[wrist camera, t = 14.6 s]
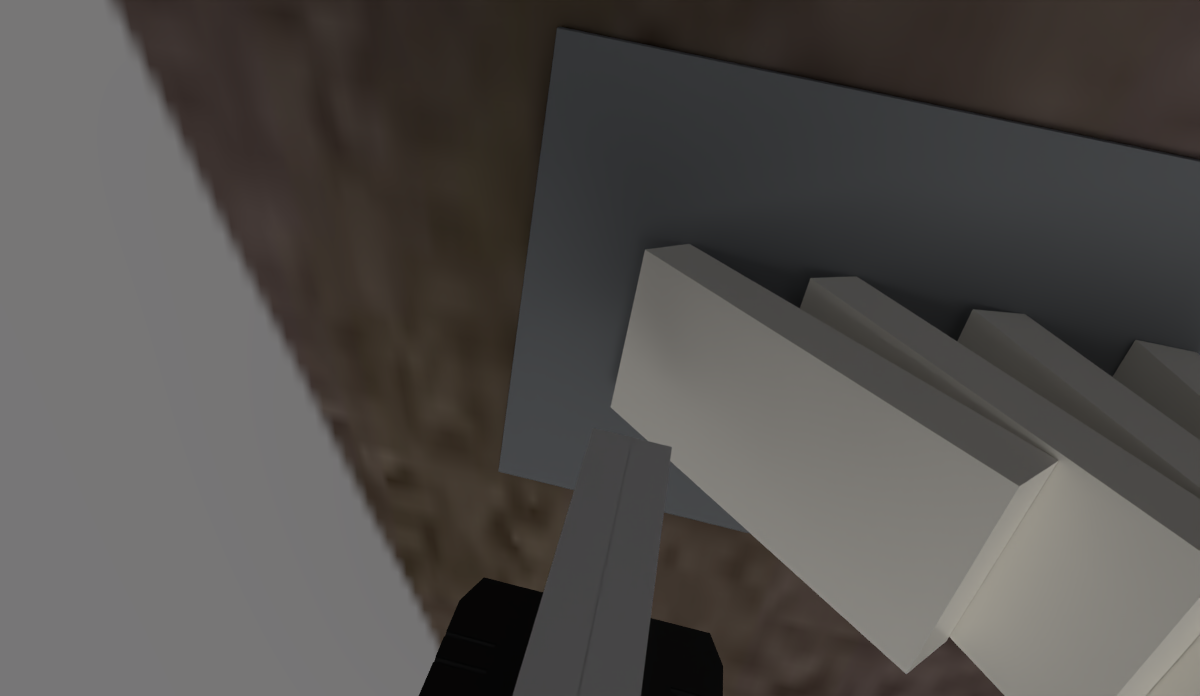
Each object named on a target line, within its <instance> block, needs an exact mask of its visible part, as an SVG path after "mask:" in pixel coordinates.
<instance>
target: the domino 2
mask: <svg viewBox="0 0 1200 696" xmlns="http://www.w3.org/2000/svg"><path fill="white" fill-rule="evenodd" d="M957 342H959V343H960V344H962V345H963V346H965V347H966V348H968V349H969V350H971V351H973V352H974V353H976V354H977V355H979V356H980V357H982V358H983V359H985V360H986V361H988V362H990V363H991V364H993V365H994V366H996V367H997V368H999V369H1000V370H1002V371H1003V372H1005V373H1006V374H1008V375H1010V376H1011V377H1013V378H1014V379H1016V380H1017V381H1019V382H1020V383H1022V384H1023V385H1025V386H1027V387H1028V388H1030V389H1031V390H1033V391H1034V392H1036V393H1037V394H1039V395H1040V396H1042V397H1044V398H1045V399H1047V400H1048V401H1050V402H1051V403H1053V404H1054V405H1056V406H1057V407H1059V408H1060V409H1062V410H1064V411H1065V412H1067V413H1068V414H1070V415H1071V416H1073V417H1074V418H1076V419H1077V420H1079V421H1081V422H1082V423H1084V424H1085V425H1087V426H1088V427H1090V428H1091V429H1093V430H1094V431H1096V432H1097V433H1099V434H1101V435H1102V436H1104V437H1105V438H1107V439H1108V440H1110V441H1111V442H1113V443H1114V444H1116V445H1118V446H1119V447H1121V448H1122V449H1124V450H1125V451H1127V452H1128V453H1130V454H1131V455H1133V456H1135V457H1136V458H1138V459H1139V460H1141V461H1142V462H1144V463H1145V464H1147V465H1148V466H1150V467H1151V468H1153V469H1155V470H1156V471H1158V472H1159V473H1161V474H1162V475H1164V476H1165V477H1167V478H1168V479H1170V480H1172V481H1173V482H1175V483H1176V484H1178V485H1179V486H1181V487H1182V488H1184V489H1185V490H1187V491H1189V492H1190V493H1192V494H1193V495H1195V496H1196V497H1198V498H1199V499H1200V440H1199V439H1198V438H1196V437H1195V436H1193V435H1192V434H1191V433H1189V432H1188V431H1186V430H1185V429H1184V428H1182V427H1181V426H1179V425H1178V424H1177V423H1175V422H1174V421H1173V420H1171V419H1170V418H1168V417H1167V416H1166V415H1164V414H1163V413H1161V412H1160V411H1159V410H1157V409H1156V408H1155V407H1153V406H1152V405H1150V404H1149V403H1148V402H1146V401H1145V400H1143V399H1142V398H1141V397H1139V396H1138V395H1137V394H1135V393H1134V392H1132V391H1131V390H1130V389H1128V388H1127V387H1125V386H1124V385H1123V384H1121V383H1120V382H1118V381H1117V380H1116V379H1114V378H1113V377H1112V376H1110V375H1109V374H1107V373H1106V372H1105V371H1103V370H1102V369H1100V368H1099V367H1098V366H1096V365H1095V364H1094V363H1092V362H1091V361H1089V360H1088V359H1087V358H1085V357H1084V356H1082V355H1081V354H1080V353H1078V352H1077V351H1075V350H1074V349H1073V348H1071V347H1070V346H1069V345H1067V344H1066V343H1064V342H1063V341H1062V340H1060V339H1059V338H1057V337H1056V336H1055V335H1053V334H1052V333H1051V332H1049V331H1048V330H1046V329H1045V328H1044V327H1042V326H1041V325H1039V324H1038V323H1037V322H1035V321H1034V320H1033V319H1031V318H1030V317H1028V316H1027V315H1026V314H1020V313H1009V312H998V311H987V310H976V309H973V310H972V312H971V314H970V316H969V318H968V320H967V322H966V324H965V326H964V328H963V331H962V333H961V335H960V337H959V339H958V341H957ZM1146 696H1200V635H1199V636H1198V637H1197V638H1196V639H1195V640H1194V641H1193V643H1192V644H1191V645H1190V646H1189V647H1188V648H1187V649H1186V651H1185V652H1184V653H1183V654H1182V655H1181V656H1180V657H1179V659H1178V660H1177V661H1176V662H1175V663H1174V664H1173V665H1172V666H1171V668H1170V669H1169V670H1168V671H1167V672H1166V673H1165V674H1164V676H1163V677H1162V678H1161V679H1160V680H1159V681H1158V682H1157V683H1156V685H1155V686H1154V687H1153V688H1152V689H1151V690H1150V691H1149V693H1148V694H1147V695H1146Z"/></svg>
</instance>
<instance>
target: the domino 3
mask: <svg viewBox="0 0 1200 696" xmlns="http://www.w3.org/2000/svg"><path fill="white" fill-rule="evenodd" d="M1113 378H1114V379H1116V380H1117V381H1118V382H1120V383H1121V384H1123V385H1124V386H1125V387H1127V388H1128V389H1130V390H1131V391H1132V392H1134V393H1135V394H1137V395H1138V396H1139V397H1141V398H1142V399H1143V400H1145V401H1146V402H1148V403H1149V404H1150V405H1152V406H1153V407H1155V408H1156V409H1157V410H1159V411H1160V412H1161V413H1163V414H1164V415H1166V416H1167V417H1168V418H1170V419H1171V420H1173V421H1174V422H1175V423H1177V424H1178V425H1179V426H1181V427H1182V428H1184V429H1185V430H1186V431H1188V432H1189V433H1191V434H1192V435H1193V436H1195V437H1196V438H1198V439H1199V440H1200V355H1199V354H1198V353H1197V352H1193V351H1188V350H1183V349H1178V348H1173V347H1169V346H1164V345H1159V344H1154V343H1149V342H1144V341H1140V340H1135V341H1134V343H1133V345H1132V346H1131V348H1130V349H1129V351H1128V353H1127V354H1126V356H1125V357H1124V359H1123V361H1122V362H1121V364H1120V365H1119V367H1118V369H1117V370H1116V372H1115V373H1114V375H1113Z"/></svg>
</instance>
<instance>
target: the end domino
mask: <svg viewBox="0 0 1200 696" xmlns="http://www.w3.org/2000/svg"><path fill="white" fill-rule="evenodd" d="M611 408H612V409H613V410H614V411H615V412H616V413H618V414H619V415H620V416H621V417H622V418H623V419H624V420H625V421H626V422H627V423H629V424H630V425H631V426H632V427H633V428H634V429H635V430H636V431H637V432H639V433H640V434H641V435H642V436H643V437H644V438H645V439H646V440H647V441H649V442H654V443H658V444H662V445H666V446H670V447H672V451H671V459H670V461H671V462H672V463H673V464H674V465H675V466H676V467H677V468H678V469H680V470H681V471H682V472H683V473H684V474H685V475H686V476H687V477H688V478H690V479H691V480H692V481H693V482H694V483H695V484H696V485H697V486H698V487H700V488H701V489H702V490H703V491H704V492H705V493H706V494H707V495H708V496H710V497H711V498H712V499H713V500H714V501H715V502H716V503H717V504H718V505H719V506H721V507H722V508H723V509H724V510H725V511H726V512H727V513H728V514H729V515H731V516H732V517H733V518H734V519H735V520H736V521H737V522H738V523H739V524H741V525H742V526H743V527H744V528H745V529H746V530H747V531H748V532H749V533H751V534H752V535H753V536H754V537H755V538H756V539H757V540H758V541H759V542H761V543H762V544H763V545H764V546H765V547H766V548H767V549H768V550H769V551H770V552H772V553H773V554H774V555H775V556H776V557H777V558H778V559H779V560H780V561H782V562H783V563H784V564H785V565H786V566H787V567H788V568H789V569H790V570H792V571H793V572H794V573H795V574H796V575H797V576H798V577H799V578H800V579H802V580H803V581H804V582H805V583H806V584H807V585H808V586H809V587H810V588H811V589H813V590H814V591H815V592H816V593H817V594H818V595H819V596H820V597H821V598H823V599H824V600H825V601H826V602H827V603H828V604H829V605H830V606H831V607H833V608H834V609H835V610H836V611H837V612H838V613H839V614H840V615H841V616H843V617H844V618H845V619H846V620H847V621H848V622H849V623H850V624H851V625H853V626H854V627H855V628H856V629H857V630H858V631H859V632H860V633H861V634H862V635H864V636H865V637H866V638H867V639H868V640H869V641H870V642H871V643H872V644H874V645H875V646H876V647H877V648H878V649H879V650H880V651H881V652H882V653H884V654H885V655H886V656H887V657H888V658H889V659H890V660H891V661H892V662H894V663H895V664H896V665H897V666H898V667H899V668H900V669H901V670H902V671H904V672H905V673H906V674H907V673H908V672H910V671H911V670H912V669H913V668H914V667H916V666H917V665H918V664H919V663H920V662H922V661H923V660H924V659H925V658H926V657H928V656H929V655H930V654H931V653H933V652H934V651H935V650H936V649H937V648H939V647H940V646H941V645H942V644H943V643H945V642H946V641H947V639H948V638H949V636H950V634H951V633H952V631H953V630H954V628H955V626H956V625H957V623H958V622H959V620H960V618H961V617H962V615H963V614H964V612H965V610H966V609H967V607H968V605H969V604H970V602H971V601H972V599H973V597H974V596H975V594H976V593H977V591H978V589H979V588H980V586H981V585H982V583H983V581H984V580H985V578H986V577H987V575H988V573H989V572H990V570H991V569H992V567H993V565H994V564H995V562H996V561H997V559H998V557H999V556H1000V554H1001V552H1002V551H1003V549H1004V548H1005V546H1006V544H1007V543H1008V541H1009V540H1010V538H1011V536H1012V535H1013V533H1014V532H1015V530H1016V528H1017V527H1018V525H1019V524H1020V522H1021V520H1022V519H1023V517H1024V516H1025V514H1026V512H1027V511H1028V509H1029V508H1030V506H1031V504H1032V503H1033V501H1034V500H1035V498H1036V496H1037V495H1038V493H1039V491H1040V490H1041V488H1042V487H1043V485H1044V483H1045V482H1046V480H1047V479H1048V477H1049V475H1050V474H1051V472H1052V471H1053V469H1054V467H1055V466H1056V464H1057V463H1058V460H1057V459H1055V458H1053V457H1052V456H1050V455H1048V454H1047V453H1045V452H1043V451H1041V450H1040V449H1038V448H1036V447H1035V446H1033V445H1031V444H1030V443H1028V442H1026V441H1024V440H1023V439H1021V438H1019V437H1018V436H1016V435H1014V434H1013V433H1011V432H1009V431H1007V430H1006V429H1004V428H1002V427H1001V426H999V425H997V424H995V423H994V422H992V421H990V420H989V419H987V418H985V417H984V416H982V415H980V414H978V413H977V412H975V411H973V410H972V409H970V408H968V407H967V406H965V405H963V404H961V403H960V402H958V401H956V400H955V399H953V398H951V397H950V396H948V395H946V394H944V393H943V392H941V391H939V390H938V389H936V388H934V387H932V386H931V385H929V384H927V383H926V382H924V381H922V380H921V379H919V378H917V377H915V376H914V375H912V374H910V373H909V372H907V371H905V370H904V369H902V368H900V367H898V366H897V365H895V364H893V363H892V362H890V361H888V360H887V359H885V358H883V357H881V356H880V355H878V354H876V353H875V352H873V351H871V350H869V349H868V348H866V347H864V346H863V345H861V344H859V343H858V342H856V341H854V340H852V339H851V338H849V337H847V336H846V335H844V334H842V333H841V332H839V331H837V330H835V329H834V328H832V327H830V326H829V325H827V324H825V323H824V322H822V321H820V320H818V319H817V318H815V317H813V316H812V315H810V314H808V313H806V312H805V311H803V310H801V309H800V308H798V307H796V306H795V305H793V304H791V303H789V302H788V301H786V300H784V299H783V298H781V297H779V296H778V295H776V294H774V293H772V292H771V291H769V290H767V289H766V288H764V287H762V286H761V285H759V284H757V283H755V282H754V281H752V280H750V279H749V278H747V277H745V276H743V275H742V274H740V273H738V272H737V271H735V270H733V269H732V268H730V267H728V266H726V265H725V264H723V263H721V262H720V261H718V260H716V259H715V258H713V257H711V256H709V255H708V254H706V253H704V252H703V251H701V250H699V249H698V248H696V247H694V246H692V245H691V244H684V245H676V246H668V247H661V248H653V249H645V252H644V257H643V261H642V266H641V270H640V275H639V279H638V284H637V289H636V293H635V298H634V302H633V307H632V311H631V316H630V321H629V325H628V330H627V334H626V339H625V344H624V348H623V353H622V357H621V362H620V366H619V371H618V376H617V380H616V385H615V389H614V394H613V398H612V403H611Z"/></svg>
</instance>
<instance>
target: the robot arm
mask: <svg viewBox="0 0 1200 696" xmlns="http://www.w3.org/2000/svg"><path fill="white" fill-rule="evenodd" d="M671 451H672V447H670V446H666V445H662V444H658V443H654V442H649V441H645V440H641V439H637V438H633V437H629V436H625V435H620V434H616V433H612V432H608V431H604V430H600V429H596V428H593V430H592V433H591V436H590V440H589V443H588V446H587V450H586V453H585V456H584V459H583V463H582V466H581V469H580V473H579V476H578V479H577V483H576V486H575V489H574V493H573V496H572V499H571V503H570V506H569V509H568V513H567V516H566V519H565V523H564V526H563V529H562V533H561V536H560V539H559V543H558V546H557V549H556V553H555V556H554V559H553V563H552V566H551V569H550V573H549V576H548V579H547V582H546V586H545V589H544V592H539V591H535V590H531V589H527V588H523V587H519V586H515V585H511V584H507V583H503V582H500V581H496V580H492V579H488V578H483V579H482V580H481V581H480V582H479V583H478V584H477V585H475V586H474V587H473V588H472V589H471V590H470V591H469V592H468V593H467V594H466V595H465V596H464V597H463V598H462V599H461V600H460V601H459V603H458V606H457V608H456V610H455V613H454V615H453V617H452V620H451V622H450V624H449V627H448V629H447V632H446V635H445V637H444V638H443V641H442V643H441V645H440V648H439V650H438V652H437V655H436V658H435V661H434V662H433V664H432V666H431V669H430V671H429V673H428V676H427V678H426V680H425V683H424V685H423V687H422V690H421V692H420V694H419V696H723V665H722V662H721V660H720V657H719V655H718V652H717V650H716V647H715V645H714V642H713V640H712V637H711V635H710V633H707V632H703V631H699V630H695V629H691V628H687V627H683V626H679V625H675V624H672V623H668V622H664V621H660V620H656V619H652V618H651V610H652V602H653V594H654V586H655V578H656V570H657V562H658V555H659V547H660V539H661V531H662V523H663V515H664V507H665V499H666V491H667V483H668V475H669V467H670V459H671Z"/></svg>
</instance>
